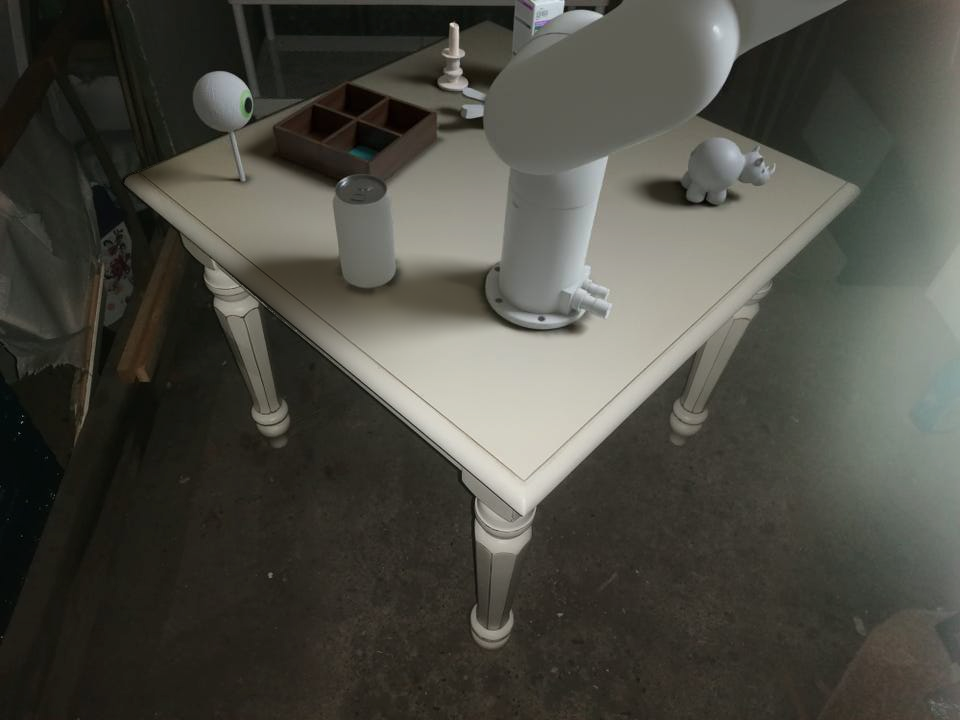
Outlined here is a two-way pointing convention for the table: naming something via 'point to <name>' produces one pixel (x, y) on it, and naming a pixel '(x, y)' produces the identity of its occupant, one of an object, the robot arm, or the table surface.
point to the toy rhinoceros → (722, 170)
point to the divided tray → (356, 133)
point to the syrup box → (532, 19)
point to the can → (364, 230)
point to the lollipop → (224, 106)
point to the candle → (453, 63)
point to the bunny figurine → (473, 110)
